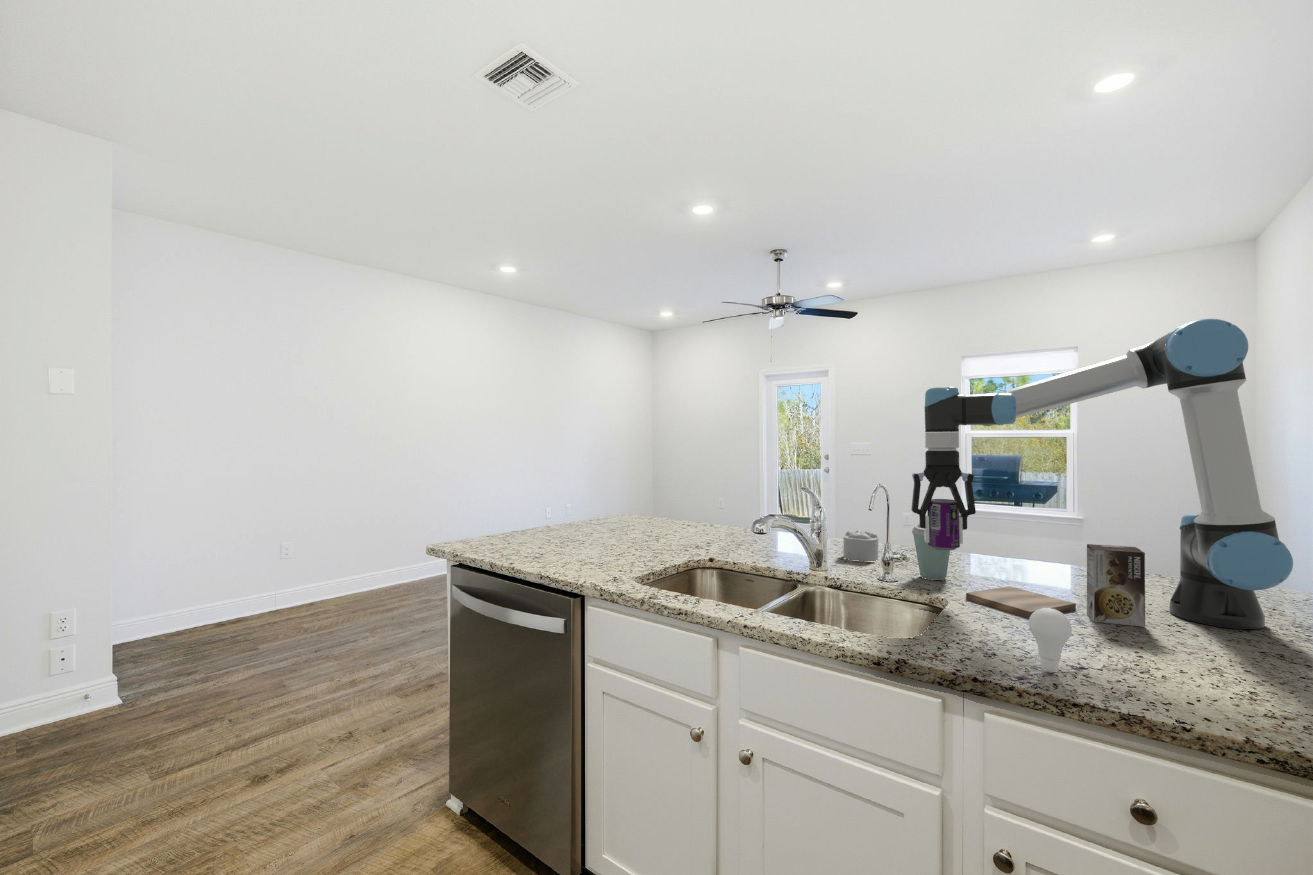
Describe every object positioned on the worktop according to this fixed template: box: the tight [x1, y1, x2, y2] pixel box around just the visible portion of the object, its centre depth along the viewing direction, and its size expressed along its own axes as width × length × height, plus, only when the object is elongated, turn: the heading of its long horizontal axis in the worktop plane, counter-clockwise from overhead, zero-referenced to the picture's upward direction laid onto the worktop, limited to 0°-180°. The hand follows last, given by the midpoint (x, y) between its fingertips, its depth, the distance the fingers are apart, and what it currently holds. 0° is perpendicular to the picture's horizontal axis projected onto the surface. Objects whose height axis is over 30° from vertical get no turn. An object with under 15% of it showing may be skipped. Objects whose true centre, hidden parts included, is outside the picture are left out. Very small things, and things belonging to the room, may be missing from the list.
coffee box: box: [1086, 543, 1146, 628], centre depth 125 cm, size 9×6×16 cm
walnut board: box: [965, 585, 1077, 619], centre depth 137 cm, size 16×16×2 cm
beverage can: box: [927, 498, 961, 551], centre depth 142 cm, size 7×7×12 cm
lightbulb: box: [1028, 608, 1073, 674], centre depth 98 cm, size 6×6×11 cm
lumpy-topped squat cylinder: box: [842, 529, 879, 562], centre depth 187 cm, size 10×13×9 cm
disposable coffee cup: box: [911, 522, 951, 581], centre depth 161 cm, size 11×11×15 cm
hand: (943, 541), depth 142 cm, fingers closed on beverage can, 7 cm apart
